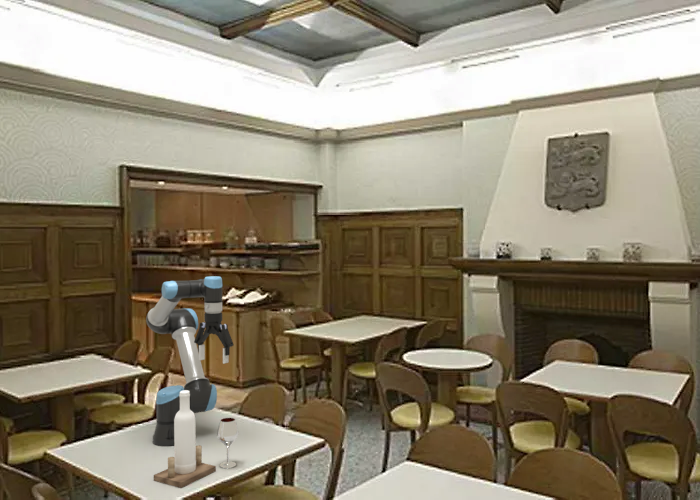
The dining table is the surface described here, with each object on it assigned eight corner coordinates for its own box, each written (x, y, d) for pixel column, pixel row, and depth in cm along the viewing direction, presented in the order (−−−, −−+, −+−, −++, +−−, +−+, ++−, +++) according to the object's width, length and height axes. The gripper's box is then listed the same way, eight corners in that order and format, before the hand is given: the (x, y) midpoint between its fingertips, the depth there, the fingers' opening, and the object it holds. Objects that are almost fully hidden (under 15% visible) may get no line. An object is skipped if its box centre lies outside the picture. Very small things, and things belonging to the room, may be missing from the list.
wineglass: (218, 461, 239) (218, 417, 238) (239, 461, 239) (239, 416, 239) (216, 469, 230) (215, 423, 230) (237, 468, 231) (237, 422, 231)
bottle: (199, 471, 223) (198, 391, 223) (178, 476, 219) (177, 395, 218) (191, 464, 230) (191, 387, 229) (171, 469, 226) (170, 390, 225)
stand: (153, 480, 220) (153, 456, 220) (189, 464, 236) (188, 441, 236) (181, 488, 213) (181, 463, 213) (215, 471, 229) (215, 447, 229)
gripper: (185, 311, 259) (186, 360, 259) (229, 314, 247) (230, 365, 247) (198, 309, 265) (198, 357, 266) (241, 313, 253) (241, 362, 253)
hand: (213, 361), depth 256 cm, fingers open, 13 cm apart
